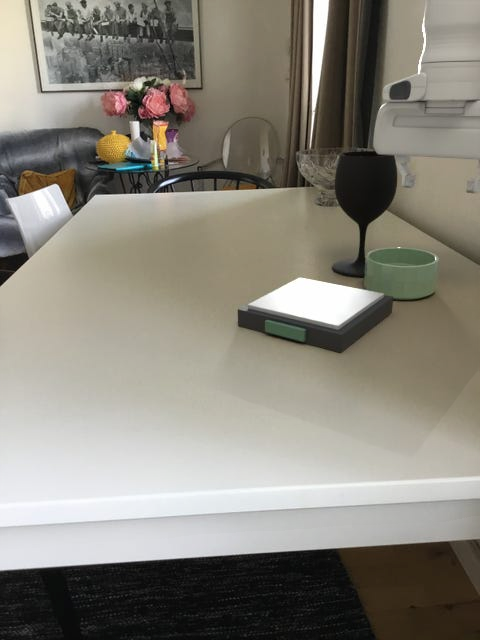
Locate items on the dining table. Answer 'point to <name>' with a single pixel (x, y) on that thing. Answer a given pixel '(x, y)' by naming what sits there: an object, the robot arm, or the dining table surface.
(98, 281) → the dining table surface
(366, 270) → the bowl
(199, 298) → the dining table surface
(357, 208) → the wine glass
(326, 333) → the scale
